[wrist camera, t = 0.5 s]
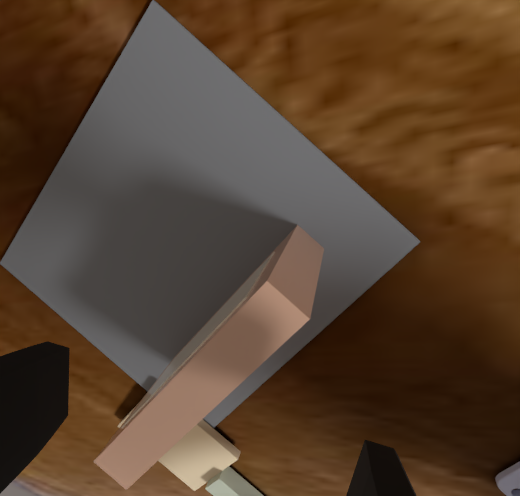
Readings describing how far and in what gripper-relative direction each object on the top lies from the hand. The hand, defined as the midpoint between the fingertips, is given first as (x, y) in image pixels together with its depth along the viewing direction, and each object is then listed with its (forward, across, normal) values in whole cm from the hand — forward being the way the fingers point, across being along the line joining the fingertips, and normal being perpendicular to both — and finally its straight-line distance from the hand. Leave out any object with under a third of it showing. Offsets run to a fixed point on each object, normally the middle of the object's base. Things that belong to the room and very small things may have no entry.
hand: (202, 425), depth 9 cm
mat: (+10, +5, 0) cm, 11 cm away
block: (+10, +1, +2) cm, 10 cm away
